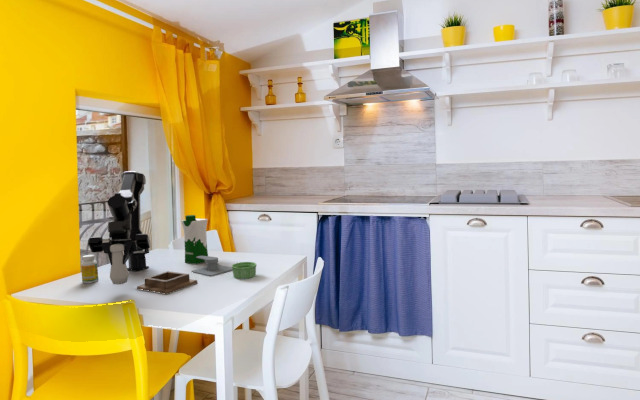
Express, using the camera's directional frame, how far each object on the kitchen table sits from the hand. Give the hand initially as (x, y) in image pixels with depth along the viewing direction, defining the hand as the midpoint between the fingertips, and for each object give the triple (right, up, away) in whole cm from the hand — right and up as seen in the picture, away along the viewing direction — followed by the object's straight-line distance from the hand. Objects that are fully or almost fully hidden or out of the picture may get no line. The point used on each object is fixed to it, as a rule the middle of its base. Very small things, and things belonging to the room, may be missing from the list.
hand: (117, 264), depth 151 cm
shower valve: (+24, -7, +29) cm, 38 cm away
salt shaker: (0, -7, +2) cm, 7 cm away
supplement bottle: (-18, -9, +18) cm, 27 cm away
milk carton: (+14, -5, +44) cm, 47 cm away
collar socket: (+14, -9, +8) cm, 18 cm away
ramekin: (+39, -7, +19) cm, 43 cm away
